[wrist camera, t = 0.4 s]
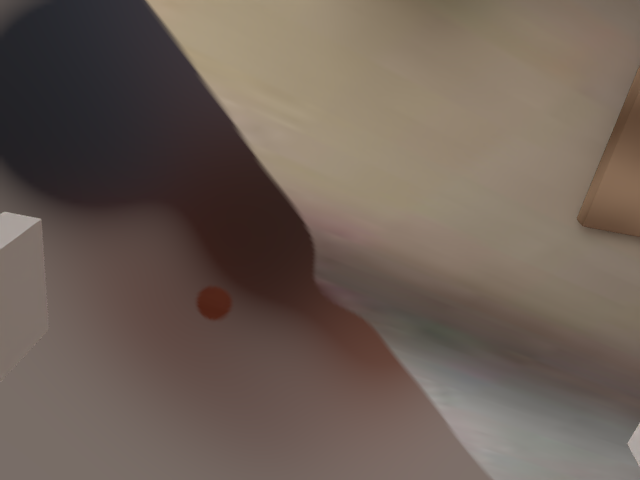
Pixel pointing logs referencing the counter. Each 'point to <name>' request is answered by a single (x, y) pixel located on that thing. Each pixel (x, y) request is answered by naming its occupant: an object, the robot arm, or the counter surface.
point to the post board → (618, 175)
